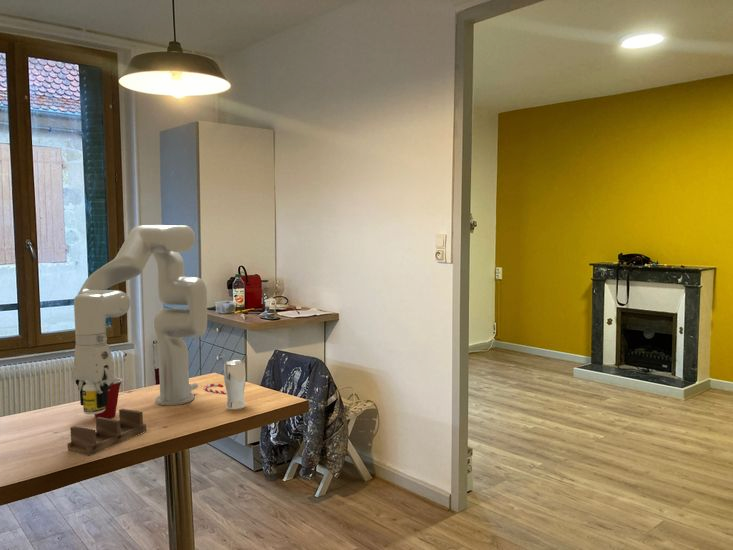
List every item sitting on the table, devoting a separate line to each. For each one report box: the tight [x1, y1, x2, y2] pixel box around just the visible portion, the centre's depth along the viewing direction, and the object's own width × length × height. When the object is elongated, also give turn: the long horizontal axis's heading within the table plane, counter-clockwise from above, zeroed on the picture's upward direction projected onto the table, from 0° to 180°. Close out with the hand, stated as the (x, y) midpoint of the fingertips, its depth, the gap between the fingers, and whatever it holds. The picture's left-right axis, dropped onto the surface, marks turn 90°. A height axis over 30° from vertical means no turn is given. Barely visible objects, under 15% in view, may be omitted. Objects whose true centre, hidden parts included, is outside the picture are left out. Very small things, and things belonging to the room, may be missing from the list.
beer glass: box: [223, 359, 247, 411], centre depth 195 cm, size 7×7×15 cm
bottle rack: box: [66, 408, 147, 457], centre depth 166 cm, size 20×8×6 cm, turn 155°
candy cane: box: [203, 383, 227, 395], centre depth 216 cm, size 8×1×15 cm
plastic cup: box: [93, 377, 123, 419], centre depth 186 cm, size 11×11×12 cm
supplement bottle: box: [82, 380, 105, 415], centre depth 161 cm, size 5×5×10 cm
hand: (94, 404), depth 161 cm, fingers closed on supplement bottle, 5 cm apart
